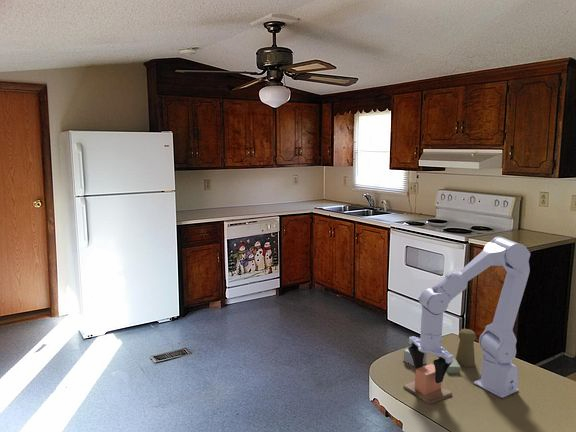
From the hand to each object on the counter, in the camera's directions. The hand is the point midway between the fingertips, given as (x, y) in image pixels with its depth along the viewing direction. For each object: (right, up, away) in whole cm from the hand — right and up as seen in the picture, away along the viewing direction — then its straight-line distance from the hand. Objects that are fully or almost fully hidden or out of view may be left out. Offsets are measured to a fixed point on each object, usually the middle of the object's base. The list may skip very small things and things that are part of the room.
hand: (428, 376), depth 136 cm
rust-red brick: (0, -4, +1) cm, 4 cm away
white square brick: (+1, -2, +18) cm, 18 cm away
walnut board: (0, -5, +1) cm, 5 cm away
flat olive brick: (+11, -3, +15) cm, 19 cm away
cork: (+17, -2, +18) cm, 25 cm away
